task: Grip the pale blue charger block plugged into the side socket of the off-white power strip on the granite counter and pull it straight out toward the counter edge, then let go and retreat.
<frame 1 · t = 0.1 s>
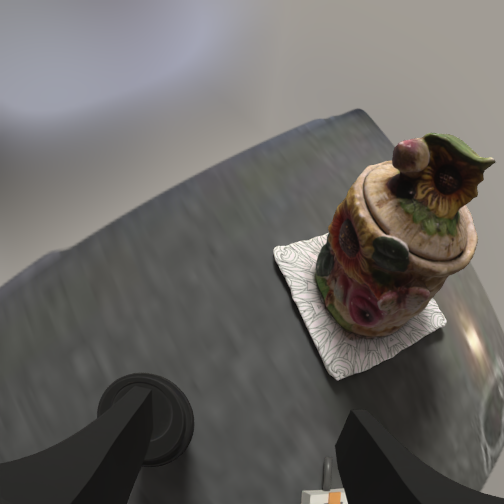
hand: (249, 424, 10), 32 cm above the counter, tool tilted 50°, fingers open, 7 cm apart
cookie jar: (361, 292, 51), on the counter
coffee cup: (166, 427, 36), on the counter
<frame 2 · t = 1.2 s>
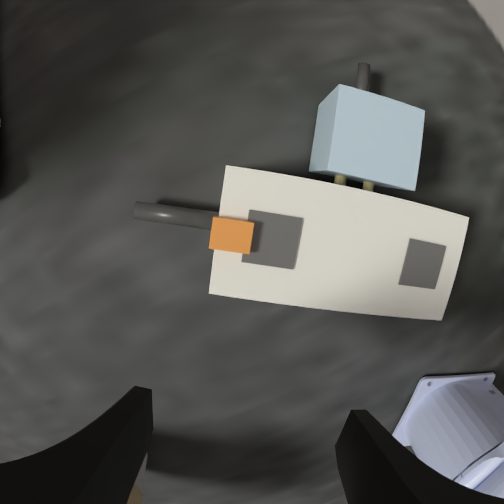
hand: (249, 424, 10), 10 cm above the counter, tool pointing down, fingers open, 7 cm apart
power strip: (333, 236, 19), on the counter
charger: (364, 136, 15), point 3 cm above the counter, slide at 0.0 cm
coffee cup: (117, 443, 23), on the counter
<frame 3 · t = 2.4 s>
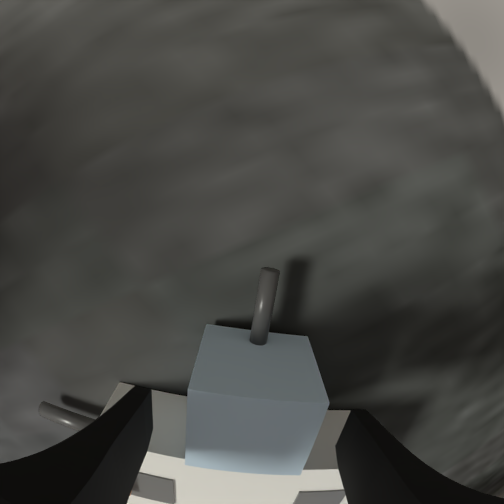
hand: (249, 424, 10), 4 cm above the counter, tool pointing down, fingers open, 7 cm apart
power strip: (236, 442, 15), on the counter
charger: (252, 394, 12), point 3 cm above the counter, slide at 0.0 cm
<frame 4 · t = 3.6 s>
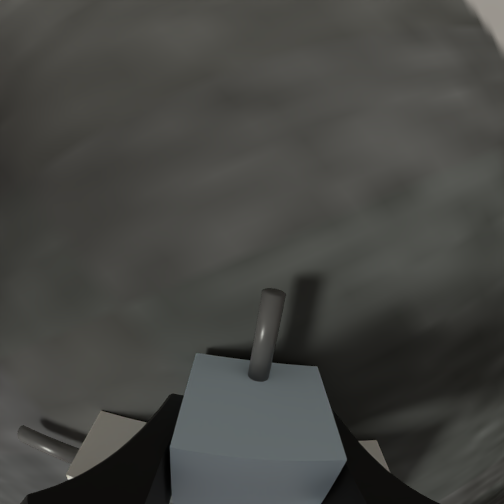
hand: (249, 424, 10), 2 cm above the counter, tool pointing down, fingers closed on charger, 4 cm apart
power strip: (234, 474, 13), on the counter
charger: (251, 438, 9), point 3 cm above the counter, slide at 0.0 cm, touching gripper
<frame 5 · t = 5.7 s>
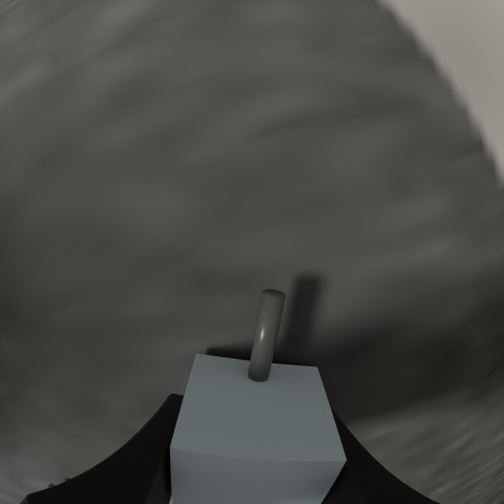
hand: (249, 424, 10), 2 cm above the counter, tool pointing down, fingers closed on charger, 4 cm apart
charger: (250, 438, 9), point 3 cm above the counter, slide at 6.0 cm, touching gripper
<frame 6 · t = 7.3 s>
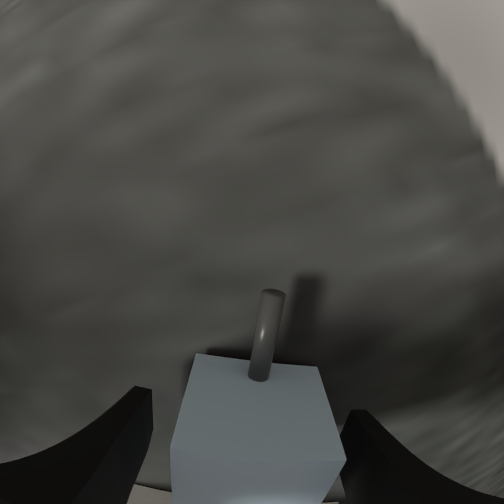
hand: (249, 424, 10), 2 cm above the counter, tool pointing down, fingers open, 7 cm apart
charger: (250, 438, 9), point 3 cm above the counter, slide at 6.0 cm
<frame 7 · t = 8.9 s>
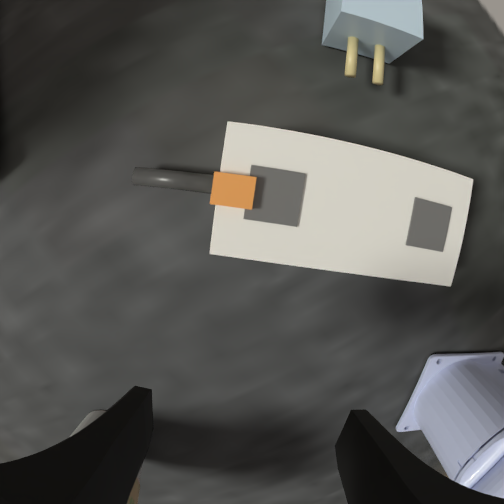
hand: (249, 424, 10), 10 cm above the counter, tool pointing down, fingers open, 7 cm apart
power strip: (336, 202, 18), on the counter
charger: (370, 9, 13), point 3 cm above the counter, slide at 6.0 cm
coffee cup: (115, 431, 23), on the counter
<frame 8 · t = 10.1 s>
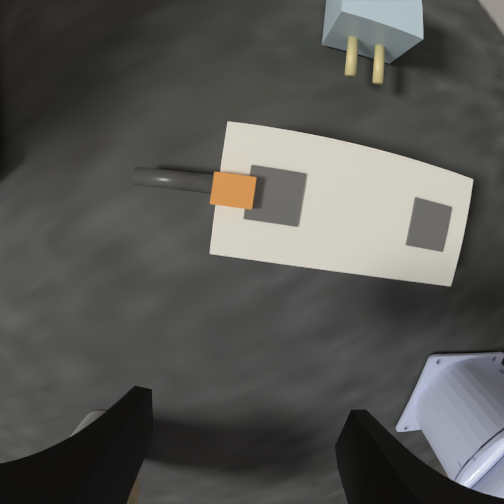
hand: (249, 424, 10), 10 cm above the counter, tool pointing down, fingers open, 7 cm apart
power strip: (336, 202, 18), on the counter
charger: (370, 9, 13), point 3 cm above the counter, slide at 6.0 cm
coffee cup: (115, 431, 23), on the counter
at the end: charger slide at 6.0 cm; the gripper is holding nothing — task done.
